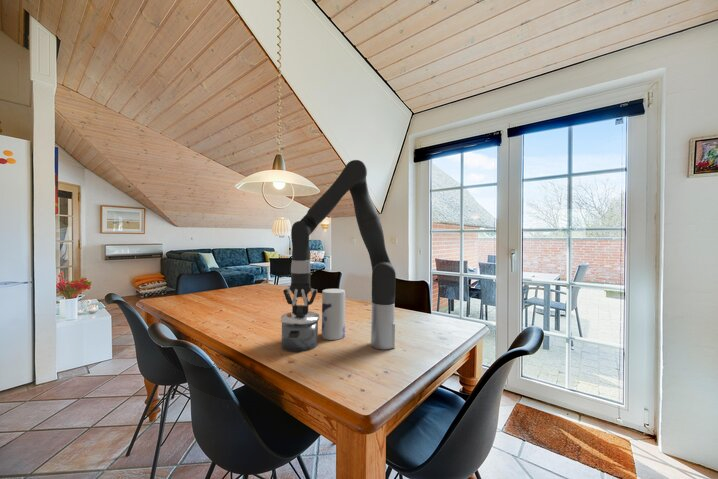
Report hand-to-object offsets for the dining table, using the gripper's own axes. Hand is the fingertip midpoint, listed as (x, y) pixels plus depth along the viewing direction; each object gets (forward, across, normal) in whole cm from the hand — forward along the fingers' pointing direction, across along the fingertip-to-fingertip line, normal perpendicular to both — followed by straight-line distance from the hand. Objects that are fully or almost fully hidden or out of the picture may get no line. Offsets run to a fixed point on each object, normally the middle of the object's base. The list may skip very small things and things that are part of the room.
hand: (300, 314), depth 111 cm
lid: (+2, 0, 0) cm, 2 cm away
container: (+12, -12, -11) cm, 20 cm away
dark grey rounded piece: (+12, 0, 0) cm, 12 cm away
